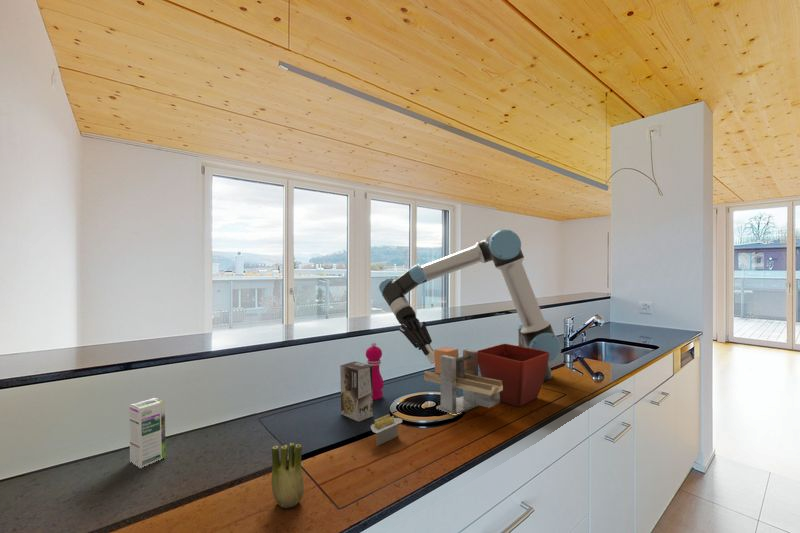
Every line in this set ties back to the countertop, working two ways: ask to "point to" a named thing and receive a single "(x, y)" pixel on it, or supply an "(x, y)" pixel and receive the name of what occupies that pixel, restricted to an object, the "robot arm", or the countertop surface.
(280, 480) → the fennel bulb
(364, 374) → the coffee box
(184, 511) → the countertop surface
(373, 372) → the pepper mill
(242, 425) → the countertop surface
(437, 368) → the rider
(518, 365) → the plant pot
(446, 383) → the pivot stand
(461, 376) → the beam
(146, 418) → the syrup box
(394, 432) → the platform
